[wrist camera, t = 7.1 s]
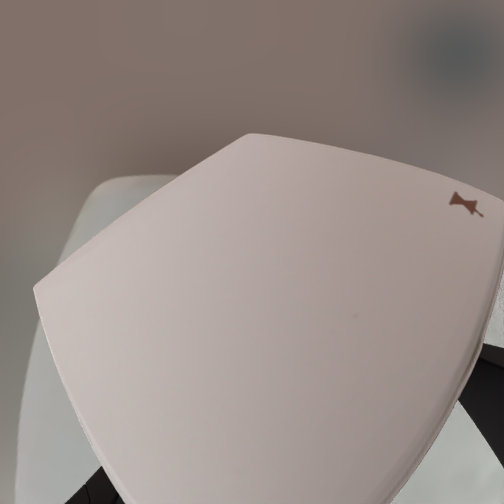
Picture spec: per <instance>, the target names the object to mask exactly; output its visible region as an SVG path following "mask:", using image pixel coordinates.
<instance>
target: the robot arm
mask: <svg viewBox="0 0 504 504" xmlns="http://www.w3.org/2000/svg"><path fill="white" fill-rule="evenodd" d="M458 400H459V402H460V403H461V405H462V406H463V407H464V409H465V410H466V412H467V413H468V414H469V416H470V417H471V419H472V420H473V422H474V423H475V425H476V426H477V428H478V429H479V430H480V432H481V433H482V435H483V436H484V438H485V439H486V441H487V442H488V444H489V446H490V447H491V449H492V450H493V452H494V453H495V455H496V456H497V458H498V460H499V461H500V463H501V464H502V466H503V468H504V348H501V347H497V346H493V345H489V344H485V343H483V345H482V349H481V352H480V354H479V357H478V359H477V361H476V364H475V366H474V368H473V370H472V373H471V375H470V377H469V379H468V381H467V383H466V385H465V387H464V389H463V390H462V392H461V394H460V396H459V398H458ZM65 504H125V503H124V501H123V500H122V498H121V496H120V495H119V493H118V492H117V490H116V489H115V487H114V485H113V484H112V482H111V480H110V479H109V477H108V475H107V474H106V472H105V470H104V469H103V467H102V466H101V467H100V468H99V469H98V470H97V471H96V472H95V473H94V474H93V475H92V477H91V478H90V479H89V480H88V481H87V482H86V484H84V485H83V486H82V487H81V488H80V489H79V490H78V491H77V492H76V493H75V494H74V495H73V496H72V497H71V498H70V499H69V500H68V501H67V502H66V503H65Z"/></svg>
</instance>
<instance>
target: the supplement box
mask: <svg viewBox="0 0 504 504" xmlns="http://www.w3.org/2000/svg"><path fill="white" fill-rule="evenodd" d="M503 269H504V201H502V200H500V199H498V198H496V197H494V196H492V195H490V194H488V193H486V192H484V191H481V190H479V189H477V188H475V187H473V186H470V185H467V184H465V183H462V182H460V181H457V180H454V179H452V178H449V177H446V176H443V175H440V174H438V173H435V172H431V171H428V170H425V169H422V168H418V167H415V166H411V165H408V164H404V163H401V162H397V161H393V160H390V159H386V158H382V157H378V156H374V155H369V154H365V153H360V152H356V151H352V150H348V149H343V148H339V147H334V146H329V145H325V144H319V143H314V142H309V141H303V140H298V139H291V138H287V137H279V136H274V135H266V134H252V133H250V134H247V135H245V136H243V137H241V138H239V139H238V140H236V141H234V142H233V143H231V144H229V145H228V146H226V147H224V148H223V149H221V150H220V151H218V152H216V153H215V154H213V155H212V156H210V157H208V158H207V159H205V160H203V161H202V162H201V163H199V164H197V165H196V166H194V167H192V168H191V169H189V170H188V171H186V172H185V173H183V174H182V175H180V176H178V177H177V178H175V179H174V180H172V181H171V182H169V183H168V184H166V185H165V186H163V187H162V188H160V189H159V190H157V191H156V192H155V193H153V194H152V195H150V196H149V197H147V198H146V199H144V200H143V201H141V202H140V203H139V204H137V205H136V206H134V207H133V208H132V209H130V210H129V211H127V212H126V213H125V214H123V215H122V216H121V217H119V218H118V219H117V220H115V221H114V222H113V223H111V224H110V225H109V226H107V227H106V228H105V229H103V230H102V231H101V232H99V233H98V234H97V235H96V236H94V237H93V238H92V239H90V240H89V241H88V242H87V243H85V244H84V245H83V246H82V247H80V248H79V249H78V250H77V251H75V252H74V253H73V254H72V255H70V256H69V257H68V258H67V259H65V260H64V261H63V262H62V263H61V264H59V265H58V266H57V267H56V268H55V269H54V270H52V271H51V272H50V273H49V274H48V275H47V276H45V277H44V278H43V279H42V280H40V281H39V282H38V283H37V284H36V285H35V286H34V288H33V290H34V294H35V298H36V303H37V307H38V310H39V314H40V318H41V322H42V325H43V328H44V332H45V335H46V338H47V341H48V344H49V347H50V350H51V353H52V356H53V359H54V362H55V365H56V367H57V370H58V373H59V375H60V378H61V380H62V383H63V385H64V387H65V390H66V392H67V395H68V397H69V399H70V401H71V404H72V406H73V408H74V410H75V412H76V415H77V417H78V419H79V422H80V424H81V426H82V428H83V430H84V432H85V434H86V436H87V438H88V440H89V442H90V444H91V446H92V448H93V450H94V452H95V454H96V456H97V458H98V460H99V461H100V463H101V465H102V467H103V469H104V470H105V472H106V474H107V475H108V477H109V479H110V480H111V482H112V484H113V485H114V487H115V489H116V490H117V492H118V493H119V495H120V496H121V498H122V500H123V501H124V503H125V504H389V503H390V502H391V501H392V500H393V499H394V497H395V496H396V495H397V494H398V492H399V491H400V490H401V488H402V487H403V486H404V485H405V483H406V482H407V481H408V479H409V478H410V477H411V475H412V474H413V472H414V471H415V470H416V468H417V467H418V465H419V464H420V462H421V461H422V459H423V458H424V456H425V455H426V453H427V452H428V450H429V449H430V447H431V446H432V444H433V442H434V441H435V439H436V437H437V436H438V434H439V432H440V431H441V429H442V427H443V426H444V424H445V422H446V420H447V418H448V417H449V415H450V413H451V411H452V409H453V407H454V405H455V403H456V402H457V400H458V398H459V396H460V394H461V392H462V390H463V389H464V387H465V385H466V383H467V381H468V379H469V377H470V375H471V373H472V370H473V368H474V366H475V364H476V361H477V359H478V357H479V354H480V352H481V349H482V345H483V341H484V337H485V333H486V329H487V326H488V323H489V320H490V317H491V314H492V311H493V307H494V304H495V300H496V297H497V293H498V289H499V286H500V282H501V277H502V273H503Z"/></svg>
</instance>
